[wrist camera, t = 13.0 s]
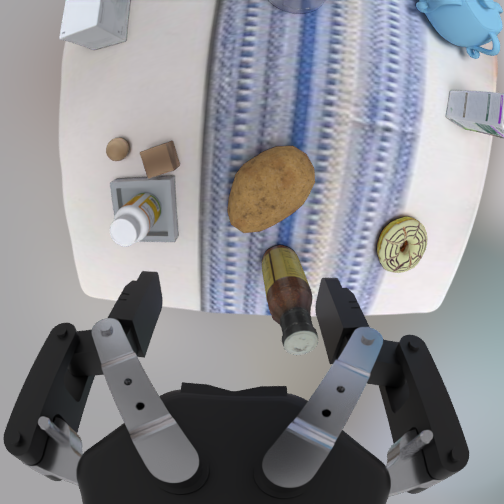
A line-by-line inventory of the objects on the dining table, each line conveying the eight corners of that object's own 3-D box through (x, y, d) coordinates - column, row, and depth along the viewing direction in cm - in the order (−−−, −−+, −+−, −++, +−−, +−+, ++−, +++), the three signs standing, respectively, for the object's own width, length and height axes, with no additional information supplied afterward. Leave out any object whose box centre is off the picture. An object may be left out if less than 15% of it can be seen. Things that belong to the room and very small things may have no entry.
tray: (116, 178, 39) (110, 182, 37) (174, 175, 40) (170, 179, 37) (124, 234, 44) (118, 241, 42) (178, 235, 44) (175, 242, 42)
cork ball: (112, 137, 36) (101, 140, 33) (132, 135, 36) (122, 137, 33) (113, 159, 38) (103, 164, 35) (133, 157, 38) (123, 162, 35)
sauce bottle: (275, 280, 49) (288, 370, 31) (253, 256, 46) (257, 345, 29) (306, 260, 47) (335, 346, 29) (285, 234, 45) (308, 317, 27)
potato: (211, 194, 41) (204, 212, 34) (275, 127, 36) (282, 129, 29) (258, 233, 44) (260, 258, 37) (321, 172, 40) (337, 185, 33)
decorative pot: (395, 5, 25) (440, -17, 13) (419, -35, 18) (457, -55, 6) (460, 66, 29) (511, 66, 17) (478, 21, 22) (522, 16, 10)
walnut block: (149, 148, 37) (139, 152, 34) (173, 140, 37) (165, 143, 34) (156, 172, 39) (148, 178, 36) (180, 165, 39) (173, 170, 35)
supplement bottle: (128, 218, 42) (103, 244, 33) (134, 187, 39) (107, 208, 31) (158, 227, 43) (138, 257, 34) (165, 197, 40) (144, 220, 32)
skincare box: (128, 41, 29) (96, 25, 19) (93, 50, 28) (57, 41, 19) (134, -10, 24) (107, -34, 14) (99, 0, 23) (67, -17, 14)
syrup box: (444, 117, 34) (502, 129, 21) (449, 89, 31) (507, 93, 19) (464, 129, 35) (520, 145, 22) (469, 102, 32) (524, 111, 19)
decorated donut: (378, 273, 49) (386, 285, 46) (367, 227, 44) (376, 236, 41) (422, 253, 47) (431, 263, 44) (415, 205, 42) (426, 213, 39)
